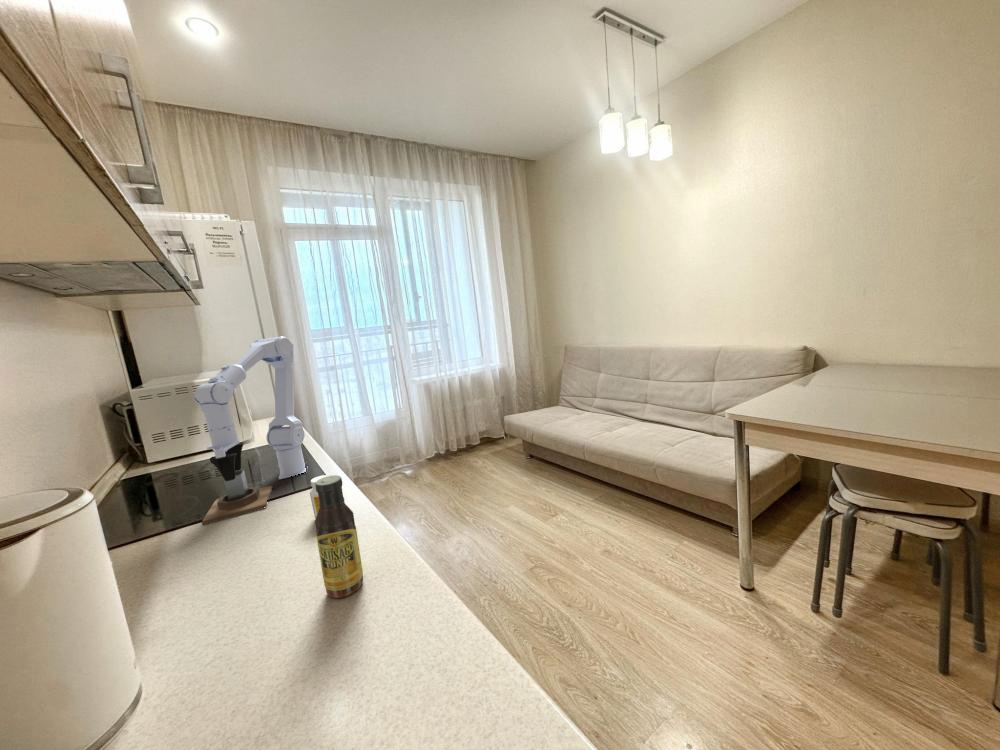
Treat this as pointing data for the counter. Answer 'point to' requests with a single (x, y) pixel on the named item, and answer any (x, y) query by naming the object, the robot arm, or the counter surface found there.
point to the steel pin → (237, 486)
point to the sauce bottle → (337, 540)
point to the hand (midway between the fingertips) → (233, 475)
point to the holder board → (238, 505)
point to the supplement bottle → (315, 495)
